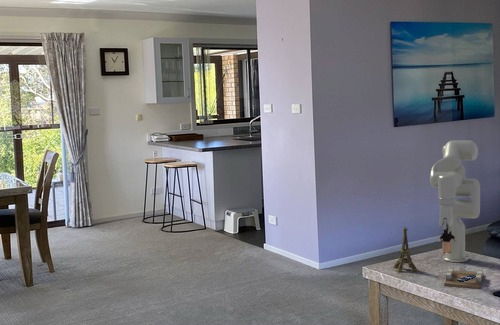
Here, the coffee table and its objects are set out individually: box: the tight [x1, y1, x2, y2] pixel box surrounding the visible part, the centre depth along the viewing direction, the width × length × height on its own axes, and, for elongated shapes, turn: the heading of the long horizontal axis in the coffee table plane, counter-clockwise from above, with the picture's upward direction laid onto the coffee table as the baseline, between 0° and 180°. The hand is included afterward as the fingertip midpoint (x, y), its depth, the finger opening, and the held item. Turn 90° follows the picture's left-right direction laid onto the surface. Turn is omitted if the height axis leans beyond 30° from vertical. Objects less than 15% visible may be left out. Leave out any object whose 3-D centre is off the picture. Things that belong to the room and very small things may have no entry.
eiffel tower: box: [391, 227, 420, 273], centre depth 316 cm, size 11×11×25 cm
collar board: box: [443, 267, 484, 290], centre depth 295 cm, size 22×15×4 cm
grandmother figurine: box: [438, 226, 456, 255], centre depth 295 cm, size 8×4×13 cm, turn 91°
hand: (447, 240), depth 295 cm, fingers closed on grandmother figurine, 3 cm apart
